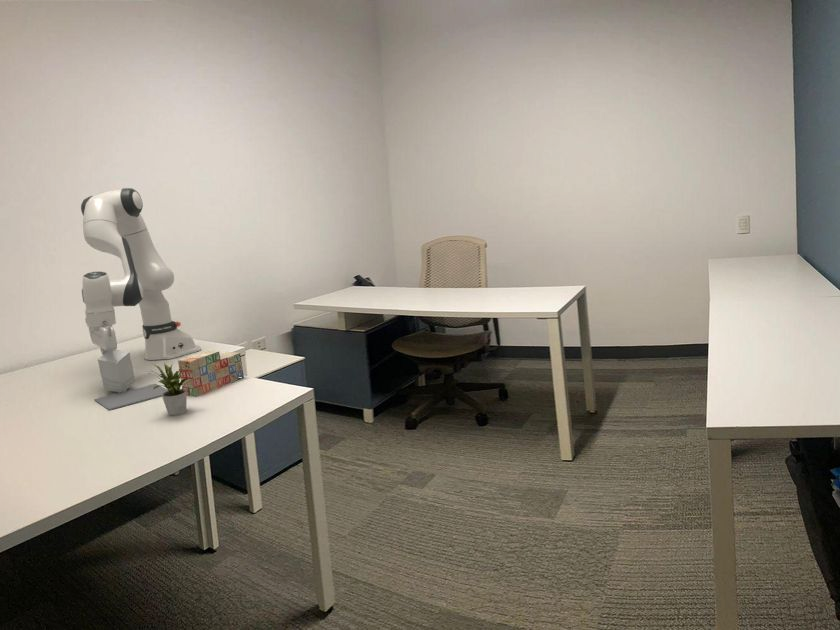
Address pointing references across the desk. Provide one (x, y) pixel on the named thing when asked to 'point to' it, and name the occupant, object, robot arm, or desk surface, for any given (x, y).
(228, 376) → the stack of blocks
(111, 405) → the mat
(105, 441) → the desk surface
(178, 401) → the house plant
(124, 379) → the supplement box
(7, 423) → the desk surface
